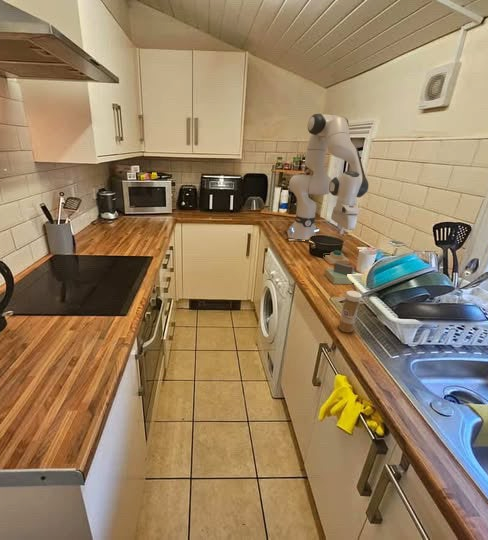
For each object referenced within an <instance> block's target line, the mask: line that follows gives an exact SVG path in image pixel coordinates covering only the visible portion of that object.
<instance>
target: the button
mask: <svg viewBox="0 0 488 540" xmlns="http://www.w3.org/2000/svg"><path fill="white" fill-rule="evenodd" d="M333 252H334V253H333V254H335V255H341V253H342V251H341V250H338V249H334V250H333Z"/></svg>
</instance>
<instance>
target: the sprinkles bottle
mask: <svg viewBox="0 0 488 540" xmlns="http://www.w3.org/2000/svg"><path fill="white" fill-rule="evenodd" d="M362 295H363V294H362V293H360V292H359V291H356V290H347V291H346V293H345V296H344V297H345V299H344V303H343V307H342V310H341V315H340V321H339V324H338V329H339V330H340V331H341V332H343V333H352V332H353V331H354V326H355V322H356V319H357V315H358V311H359V306H360V302H361V301H362V298H363V296H362Z"/></svg>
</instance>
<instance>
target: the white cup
mask: <svg viewBox="0 0 488 540" xmlns="http://www.w3.org/2000/svg"><path fill="white" fill-rule="evenodd" d="M377 255H378V253H377V252H376V251H375V250H372V249H367V248H361V249H359V250H358V253H357V259H356V266H355V271H356V273H360V274H364V272H365V271H366V270H367V269H368V268H369V267H370V266H371V265H372V264H373V263H374V264H375V263H376V262H375V261H376V258H377Z"/></svg>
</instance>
